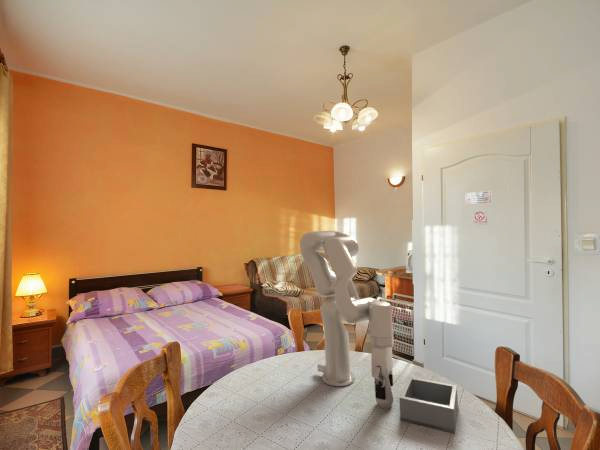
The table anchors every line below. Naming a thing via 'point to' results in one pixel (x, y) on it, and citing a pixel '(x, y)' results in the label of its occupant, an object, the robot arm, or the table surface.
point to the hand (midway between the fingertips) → (384, 391)
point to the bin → (429, 404)
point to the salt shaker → (389, 396)
